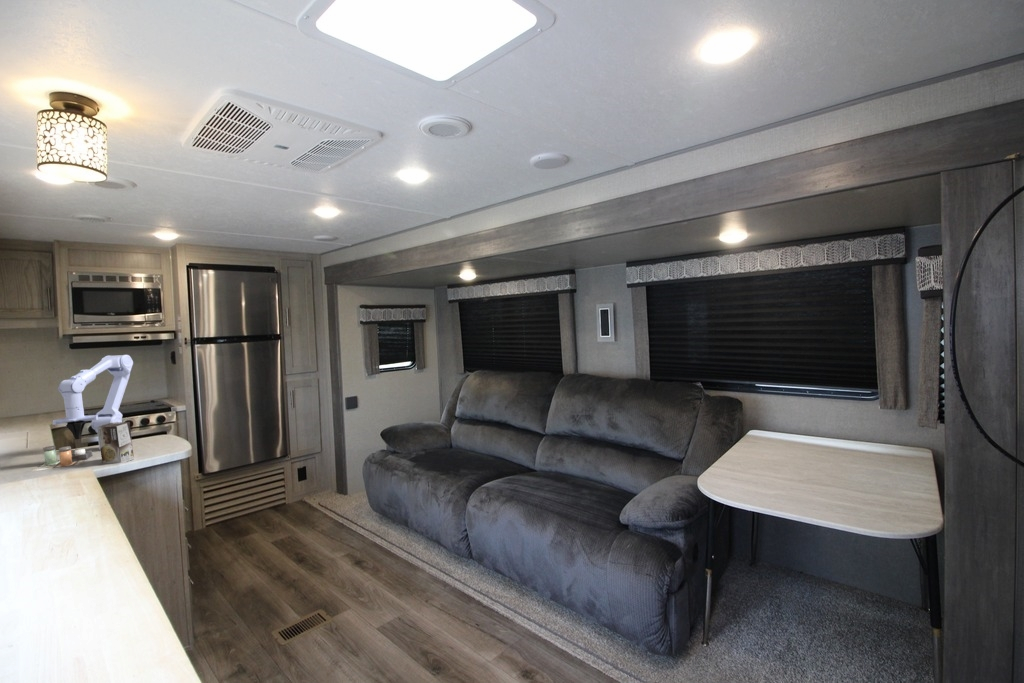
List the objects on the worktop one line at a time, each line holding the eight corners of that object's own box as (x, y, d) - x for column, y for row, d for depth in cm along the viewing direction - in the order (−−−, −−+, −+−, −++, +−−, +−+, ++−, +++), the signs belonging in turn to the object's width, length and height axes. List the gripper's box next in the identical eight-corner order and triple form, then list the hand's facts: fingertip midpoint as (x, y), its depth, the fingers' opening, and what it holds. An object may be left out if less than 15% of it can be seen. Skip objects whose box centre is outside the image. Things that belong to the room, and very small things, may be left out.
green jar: (59, 461, 202) (57, 445, 201) (55, 463, 199) (52, 447, 198) (47, 462, 200) (45, 446, 200) (43, 465, 197) (41, 449, 196)
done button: (87, 454, 206) (86, 448, 206) (83, 457, 203) (83, 450, 203) (77, 456, 205) (76, 449, 205) (73, 458, 202) (72, 451, 202)
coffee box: (135, 458, 204) (130, 421, 202) (121, 464, 197) (116, 426, 196) (115, 459, 204) (111, 422, 203) (101, 464, 198) (96, 426, 197)
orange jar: (73, 462, 200) (72, 445, 199) (70, 464, 197) (68, 448, 196) (62, 463, 198) (60, 447, 198) (58, 466, 195) (56, 449, 194)
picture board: (92, 457, 208) (91, 450, 208) (79, 466, 196) (78, 459, 196) (45, 463, 202) (44, 456, 202) (28, 473, 190) (27, 466, 190)
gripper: (47, 411, 196) (51, 443, 197) (91, 407, 201) (95, 438, 203) (55, 408, 202) (59, 439, 203) (98, 403, 208) (102, 434, 209)
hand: (78, 438), depth 203 cm, fingers closed
